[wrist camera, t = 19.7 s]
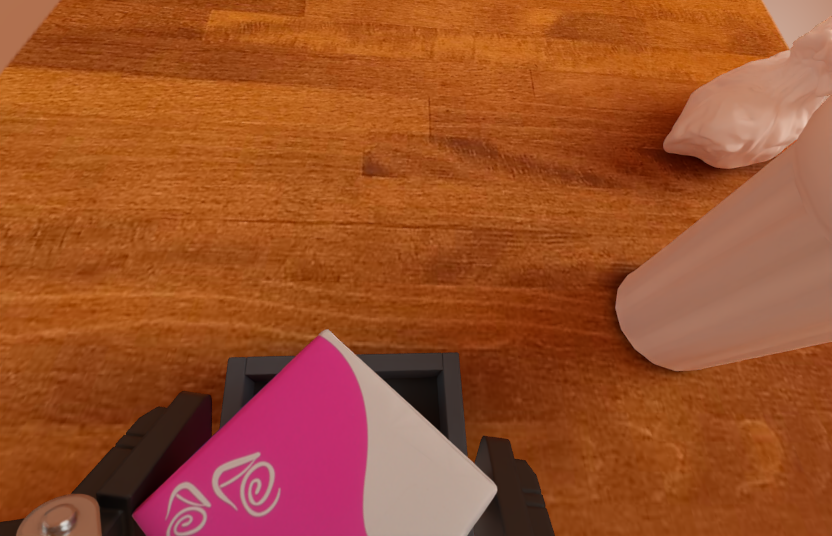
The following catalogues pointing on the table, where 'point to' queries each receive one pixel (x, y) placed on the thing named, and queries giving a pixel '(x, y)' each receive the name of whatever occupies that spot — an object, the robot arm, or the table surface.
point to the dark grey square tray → (406, 373)
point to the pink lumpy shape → (756, 105)
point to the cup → (744, 268)
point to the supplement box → (322, 463)
